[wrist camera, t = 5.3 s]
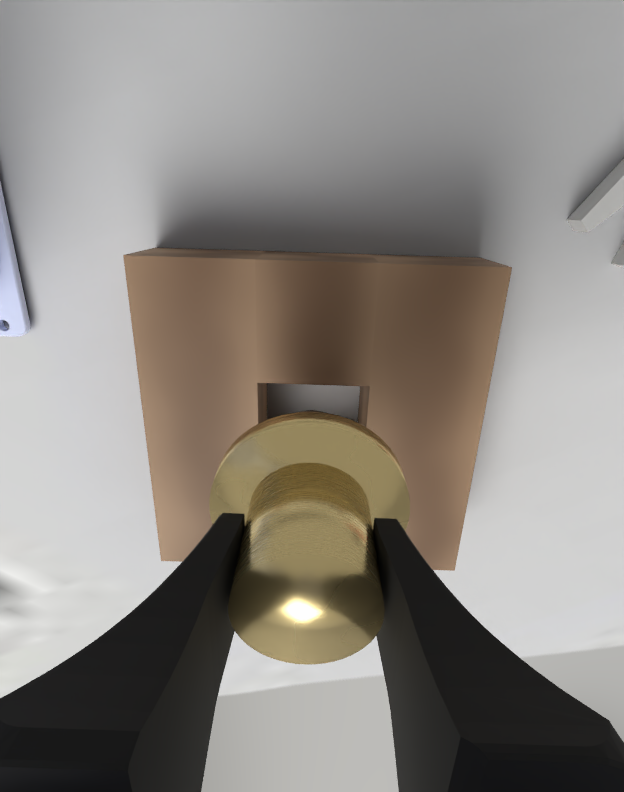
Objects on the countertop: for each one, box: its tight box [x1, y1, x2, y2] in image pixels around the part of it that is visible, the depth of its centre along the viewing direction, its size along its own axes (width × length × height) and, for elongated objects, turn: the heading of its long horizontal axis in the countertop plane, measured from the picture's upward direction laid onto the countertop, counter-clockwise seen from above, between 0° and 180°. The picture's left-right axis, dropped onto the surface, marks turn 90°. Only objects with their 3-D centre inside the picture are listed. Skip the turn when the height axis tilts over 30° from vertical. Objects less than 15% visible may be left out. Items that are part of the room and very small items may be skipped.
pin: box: [209, 410, 410, 664], centre depth 14 cm, size 6×6×7 cm
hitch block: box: [123, 248, 512, 570], centre depth 21 cm, size 14×14×4 cm
